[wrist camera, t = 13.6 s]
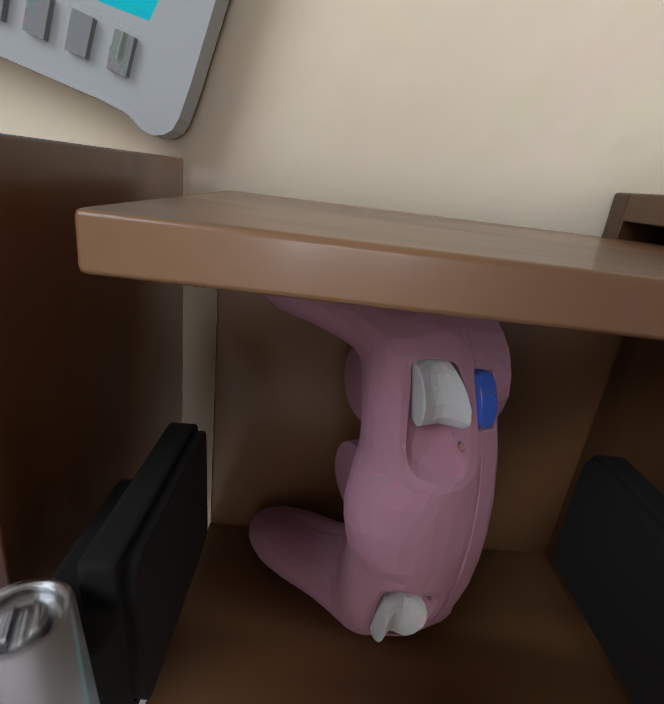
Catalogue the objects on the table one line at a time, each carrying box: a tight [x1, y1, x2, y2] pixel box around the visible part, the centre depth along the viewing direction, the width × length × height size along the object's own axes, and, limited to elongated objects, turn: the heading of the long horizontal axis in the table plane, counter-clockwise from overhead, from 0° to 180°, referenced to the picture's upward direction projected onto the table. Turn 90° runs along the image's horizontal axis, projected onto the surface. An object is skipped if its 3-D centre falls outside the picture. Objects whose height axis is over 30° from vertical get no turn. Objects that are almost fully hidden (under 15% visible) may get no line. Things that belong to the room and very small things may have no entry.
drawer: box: [0, 133, 664, 704], centre depth 11 cm, size 20×13×9 cm
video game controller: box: [249, 294, 511, 642], centre depth 12 cm, size 10×5×7 cm, turn 175°
